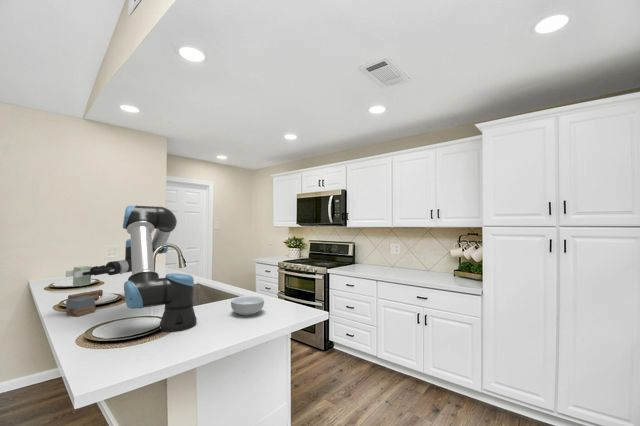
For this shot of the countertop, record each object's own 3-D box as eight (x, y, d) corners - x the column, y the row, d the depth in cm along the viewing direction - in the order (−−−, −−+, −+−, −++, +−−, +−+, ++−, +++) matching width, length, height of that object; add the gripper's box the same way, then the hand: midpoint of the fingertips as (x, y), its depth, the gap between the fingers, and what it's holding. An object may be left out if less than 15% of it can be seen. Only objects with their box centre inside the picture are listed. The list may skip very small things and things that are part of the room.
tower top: (94, 304, 147) (95, 296, 147) (78, 309, 140) (78, 301, 140) (82, 303, 149) (83, 295, 149) (66, 307, 142) (66, 299, 142)
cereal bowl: (270, 312, 152) (270, 298, 152) (247, 321, 138) (247, 306, 138) (247, 306, 161) (248, 294, 161) (223, 314, 147) (224, 300, 147)
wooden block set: (65, 293, 162) (100, 287, 179) (65, 304, 162) (100, 296, 179) (83, 297, 156) (118, 290, 172) (83, 307, 156) (117, 299, 172)
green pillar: (90, 284, 146) (91, 266, 147) (79, 286, 142) (80, 268, 142) (83, 283, 148) (84, 265, 148) (72, 285, 143) (73, 267, 143)
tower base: (94, 312, 147) (95, 304, 147) (77, 317, 139) (78, 309, 140) (83, 311, 149) (83, 303, 150) (66, 315, 142) (66, 307, 142)
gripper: (128, 275, 159) (83, 283, 137) (104, 273, 164) (57, 280, 142) (129, 261, 160) (84, 268, 137) (105, 260, 165) (58, 265, 142)
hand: (70, 274), depth 140 cm, fingers closed on green pillar, 5 cm apart
